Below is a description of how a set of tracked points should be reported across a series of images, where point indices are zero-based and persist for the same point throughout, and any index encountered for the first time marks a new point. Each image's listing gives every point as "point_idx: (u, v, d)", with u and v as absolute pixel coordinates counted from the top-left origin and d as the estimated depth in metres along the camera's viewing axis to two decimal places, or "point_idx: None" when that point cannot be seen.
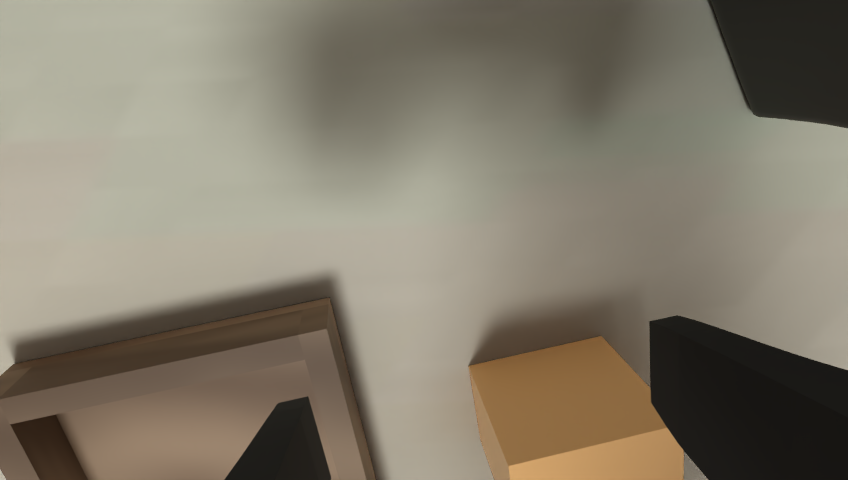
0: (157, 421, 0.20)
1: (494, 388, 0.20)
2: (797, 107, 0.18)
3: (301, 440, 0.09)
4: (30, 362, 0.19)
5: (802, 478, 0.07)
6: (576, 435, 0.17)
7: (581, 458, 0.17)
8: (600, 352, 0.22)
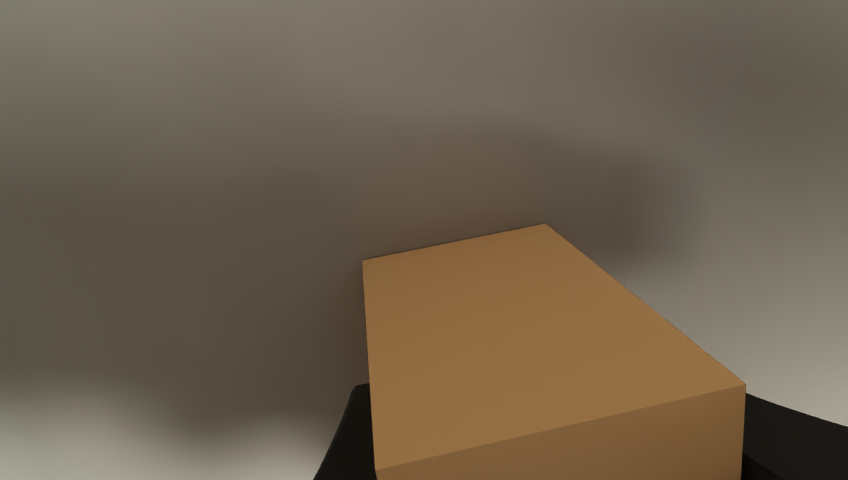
0: None
1: None
2: None
3: None
4: None
5: None
6: None
7: None
8: None
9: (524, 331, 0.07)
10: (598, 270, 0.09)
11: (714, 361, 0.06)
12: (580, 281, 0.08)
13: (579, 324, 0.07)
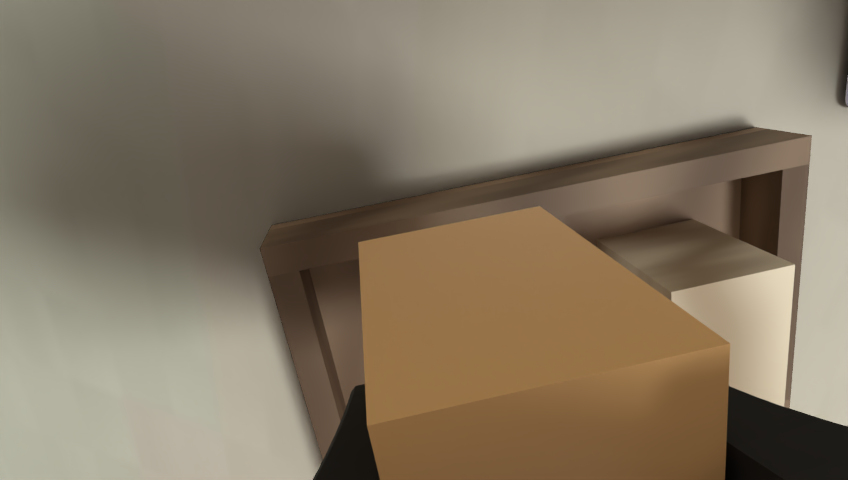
0: None
1: None
2: None
3: None
4: None
5: None
6: None
7: None
8: None
9: (515, 301, 0.07)
10: (590, 246, 0.09)
11: (700, 324, 0.06)
12: (572, 256, 0.08)
13: (569, 295, 0.07)
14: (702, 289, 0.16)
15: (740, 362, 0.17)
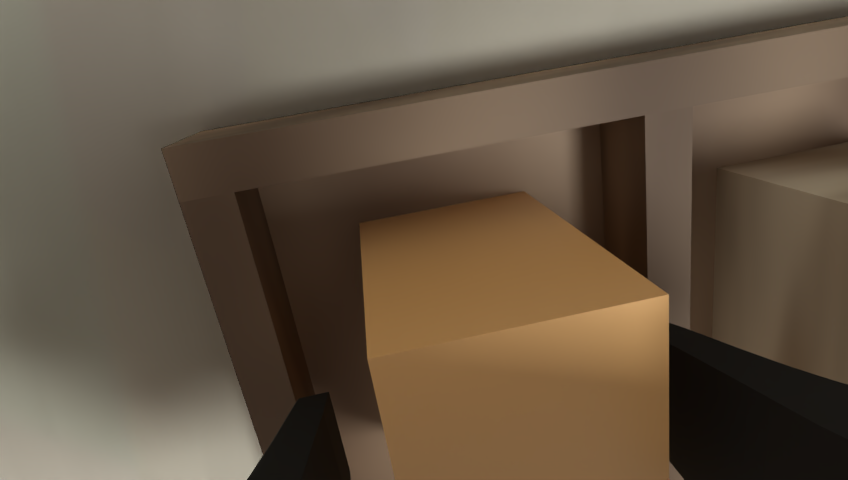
0: None
1: None
2: None
3: (325, 435, 0.09)
4: None
5: None
6: None
7: None
8: None
9: (496, 266, 0.08)
10: (564, 223, 0.10)
11: (647, 281, 0.07)
12: (548, 231, 0.10)
13: (542, 261, 0.08)
14: None
15: None
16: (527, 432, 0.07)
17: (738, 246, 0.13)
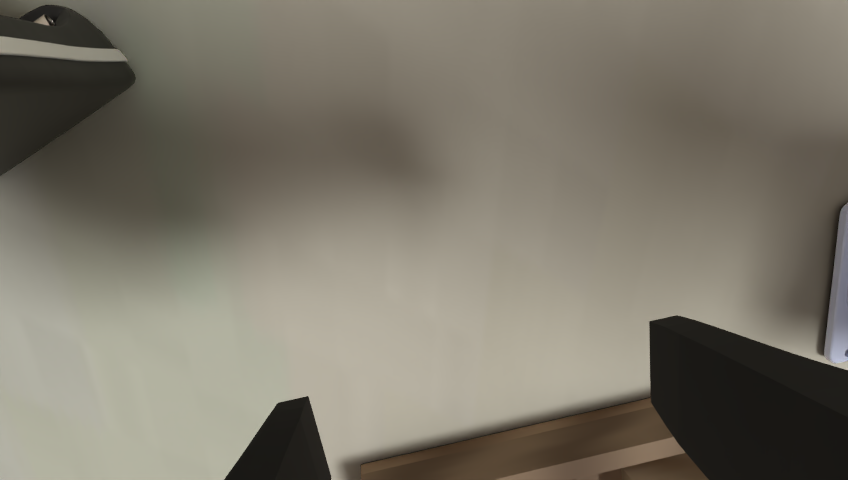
0: None
1: None
2: (88, 97, 0.15)
3: (301, 440, 0.09)
4: None
5: (802, 478, 0.07)
6: None
7: None
8: None
9: None
10: None
11: None
12: None
13: None
14: None
15: None
16: None
17: None
